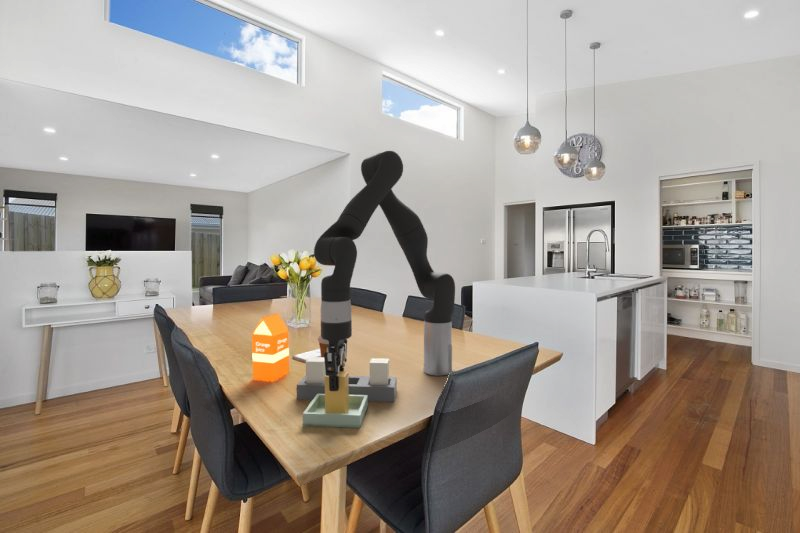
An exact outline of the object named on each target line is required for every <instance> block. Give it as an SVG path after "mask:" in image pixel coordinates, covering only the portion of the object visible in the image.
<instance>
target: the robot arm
mask: <svg viewBox="0 0 800 533" xmlns="http://www.w3.org/2000/svg"><path fill="white" fill-rule="evenodd" d="M360 169H361V170H360V171H361V176H362V178H363V180H364V182H365V184H366V185H365V186H364V187H363V188H362V189H361V190H360V191H358V192H357V193H356V194H355V195H354V196H353V197H352V198H351V199H350V201H349V202H348V203H347V204H346V205H345V207H344V208H343V210H342V212H341V213H340V215H339V217H338V219H337V220H336V221H334V223H333V224H331V225H330V226H329V227H328V228H327V229H326V230H325V231H324V232H323V233H322V234H321V235H320V236H319V238H317V240H316V243H315V244H314V248H313V255H314V259H315V260H316V261H317V264H318V263H319V265H322V266H327V267H328V266H334V268H333V272H332V274H330V275H327V276H324V277H323V278H322V279H321V283H320V292H321V293H320V295H321V296H320V298H321V302H320V310H319V311H320V334H321V338H322V339H324V340H328V341H329V345H328V346H327V351H326V352H325V353H324V359H325V371H326V376H329V390H330V391H338V389H339V371H345V367H346V363H347V361H348V359H347V356H348V355H347V354H348V350H347V349H348V339H350V338H351V337H352V336H353V335H352V332H353V331H352V329H353V328H352V321H353V320H352V303H351V282H352V278H353V274H354V270H355V266H356V263H357V257H358V250H357V245H356V244H355V241H354V240H357V239H359V238H360V237H361V235H362V234H363V232H364V230H365V229H366V227H367V226H368V223H369V221H370V220H371V218H372V216H373V214H374V213H375V211H376V210H377V208H378V207H380V209H381V210H382V213H383V214H384V217H385V218H386V220H387V222H388V223H389V226H390V228H391V230H392V233H393V235H394V236H395V238H396V240H397V242H398V244H399V246H400V248H401V250H402V252H403V254H404V256H405V259H406V260H407V262H408V265H409V267H410V269H411V272H412V273H413V278H414V280H415V283H416V285H417V288H418V290H419V292H420V294H421V296H422V297H424V298H425V299H428V300H432V301H433V306H432V308H431V309H429V310H426V311H425V312H424V314H423V372H424V373H425V374H427V375H430V376H431V375H432V376H437V377H438V376H439V377H441V376H446V375H450V374H449V373H450V372H452V373H453V345H452V341H453V340H452V337H453V335H452V330H453V329H452V328H453V327H452V326H453V325H452V324H453V322H452V321H453V319H452V318H453V315H454V312H455V311H454V310H455V300H456V298H455V297H456V284H455V280H454V277H453V276H452V275H451V274H449V273H445V272H435V271H434V269H433V267H432V266H431V263H430V261H429V260H428V254H427V253H428V243H429V242H428V234H427V231H426V228H425V227H424V224H423V222H422V221H421V218H420V217H419V216H418V214H417V213H416V212H415V211H414V210H412V209H411V207H409V206H407V205H406V204H405V203H404V202H403V201H401V200H400V199H399V198H398V197H397V196H396V194H395V192H394V191H393V190H392V189H393V187H395V185H396V184H397V183H398V182H399V181H400V180H401V178H402V176H403V174H404V173H403V172H404V164H403V160H402V158H401V156H400V155H399V153H397V152H396V151H394V150H389V149H388V150H387V149H386V150H383V151H381V152H378V153H375V154H373V155H370V156H368V157H366V158H364V159H363V160H362V162H361V165H360ZM342 354H343V355H342ZM331 368H334V371H331Z"/></svg>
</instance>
